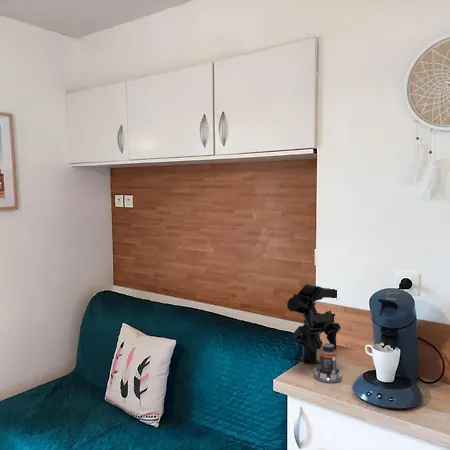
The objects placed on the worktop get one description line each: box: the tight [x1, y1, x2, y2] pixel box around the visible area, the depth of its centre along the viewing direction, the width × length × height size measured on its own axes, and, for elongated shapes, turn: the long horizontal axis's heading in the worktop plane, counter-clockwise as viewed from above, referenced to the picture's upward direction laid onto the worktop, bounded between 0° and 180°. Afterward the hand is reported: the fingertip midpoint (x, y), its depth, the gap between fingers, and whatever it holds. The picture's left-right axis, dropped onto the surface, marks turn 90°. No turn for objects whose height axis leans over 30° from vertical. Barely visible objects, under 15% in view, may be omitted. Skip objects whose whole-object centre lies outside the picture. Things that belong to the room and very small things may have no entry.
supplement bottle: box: [319, 343, 337, 377], centre depth 169 cm, size 6×6×11 cm
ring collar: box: [313, 365, 343, 384], centre depth 169 cm, size 10×10×3 cm
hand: (325, 350), depth 171 cm, fingers open, 9 cm apart
